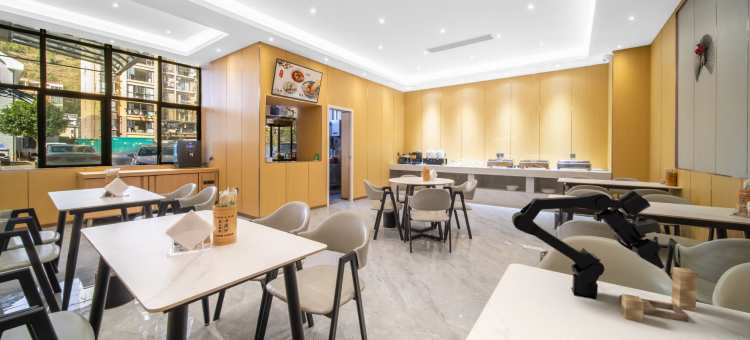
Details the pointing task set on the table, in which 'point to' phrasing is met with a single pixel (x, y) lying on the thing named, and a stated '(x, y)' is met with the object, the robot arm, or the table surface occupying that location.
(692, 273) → the long peg
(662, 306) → the socket board
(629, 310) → the short peg
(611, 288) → the table surface
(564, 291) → the table surface
